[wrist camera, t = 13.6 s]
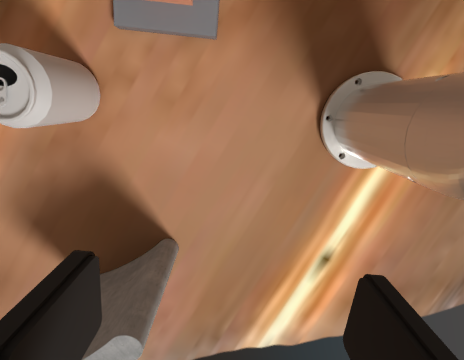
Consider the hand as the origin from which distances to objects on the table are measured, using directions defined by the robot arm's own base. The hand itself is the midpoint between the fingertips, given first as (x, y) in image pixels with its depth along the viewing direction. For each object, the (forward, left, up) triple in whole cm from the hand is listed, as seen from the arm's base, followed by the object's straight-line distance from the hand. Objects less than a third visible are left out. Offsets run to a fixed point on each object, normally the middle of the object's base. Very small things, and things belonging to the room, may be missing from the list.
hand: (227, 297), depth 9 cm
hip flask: (+13, +20, -29) cm, 37 cm away
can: (+21, -6, -28) cm, 36 cm away
